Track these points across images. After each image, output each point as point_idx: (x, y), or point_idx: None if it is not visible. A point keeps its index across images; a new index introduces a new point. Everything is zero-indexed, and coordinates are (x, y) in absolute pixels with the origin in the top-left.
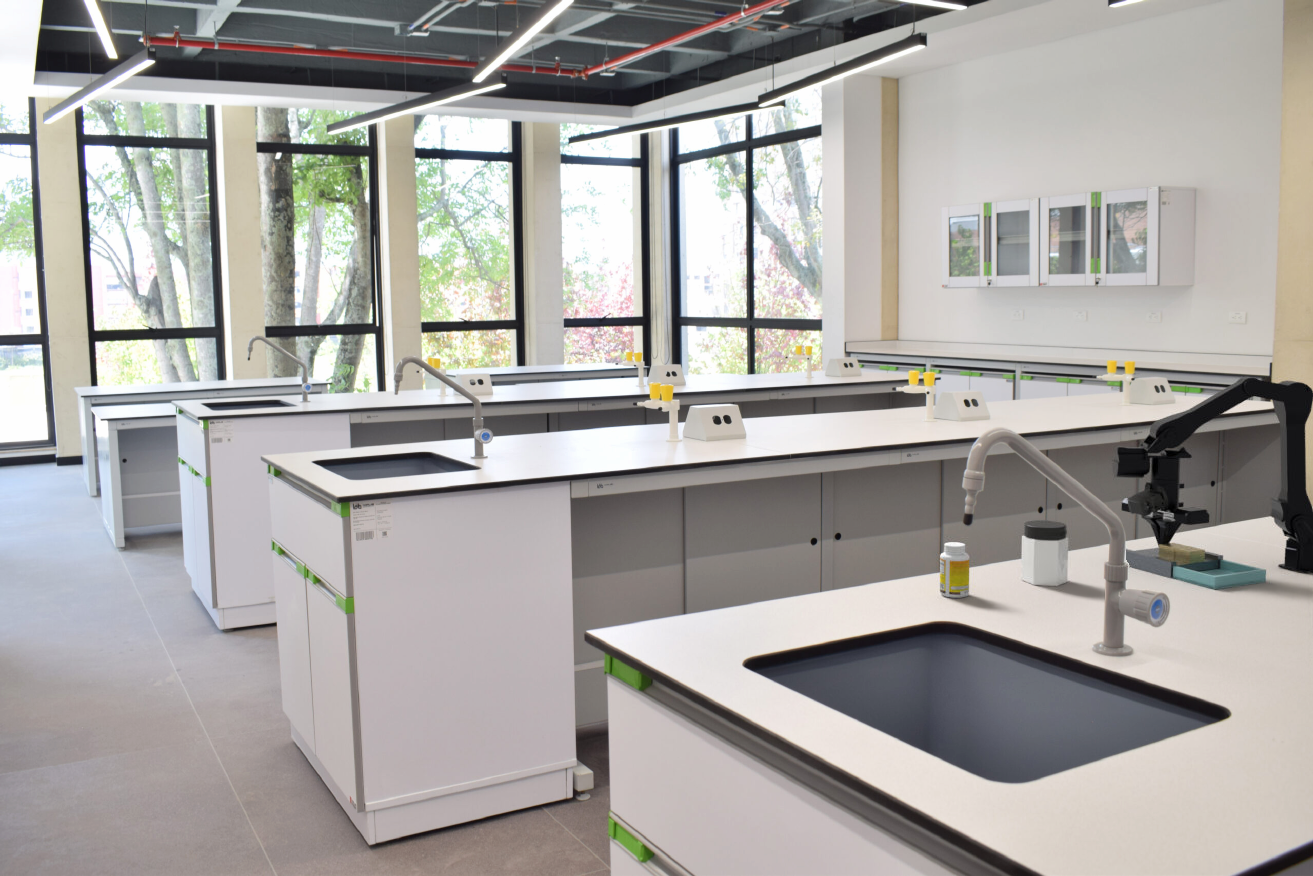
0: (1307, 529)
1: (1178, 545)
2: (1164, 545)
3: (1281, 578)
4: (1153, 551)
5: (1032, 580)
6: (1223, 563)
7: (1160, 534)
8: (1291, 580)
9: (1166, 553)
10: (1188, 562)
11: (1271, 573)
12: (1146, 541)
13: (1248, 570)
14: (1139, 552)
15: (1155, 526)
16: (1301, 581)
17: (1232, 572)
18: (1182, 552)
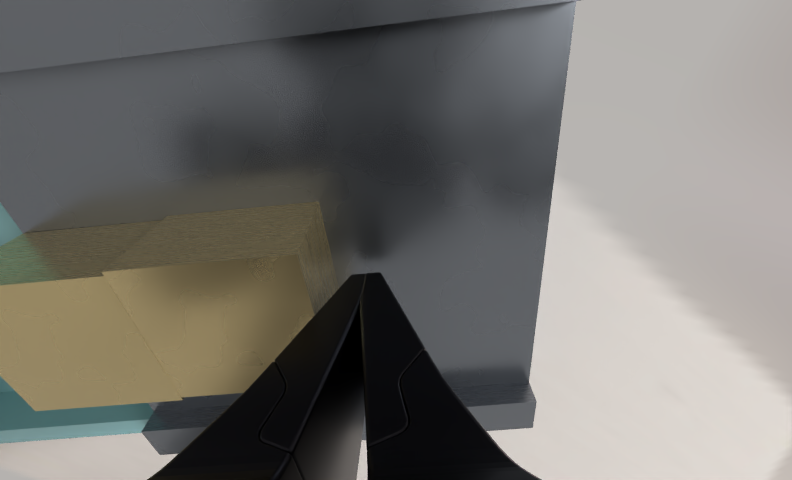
0: None
1: (218, 359)
2: (235, 266)
3: (66, 456)
4: (458, 260)
5: None
6: (142, 406)
7: (319, 365)
8: (35, 461)
9: (226, 225)
10: (30, 234)
11: (149, 469)
12: (767, 442)
13: (5, 412)
14: (349, 18)
15: (387, 448)
16: (23, 473)
17: None
18: (30, 269)
